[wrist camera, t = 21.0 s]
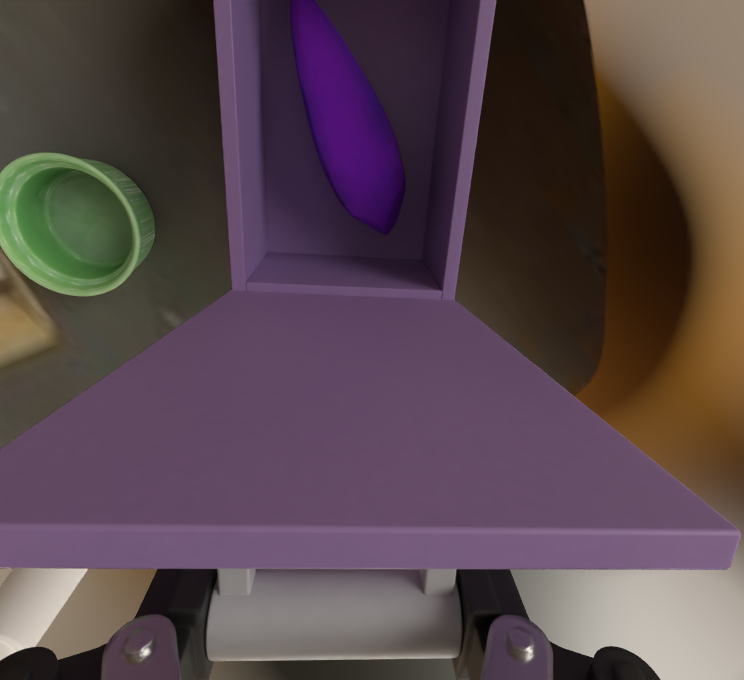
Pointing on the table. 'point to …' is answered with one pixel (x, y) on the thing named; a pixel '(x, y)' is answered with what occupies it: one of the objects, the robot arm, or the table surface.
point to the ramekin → (73, 223)
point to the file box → (301, 163)
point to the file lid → (340, 475)
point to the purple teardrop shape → (346, 121)
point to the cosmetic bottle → (32, 604)
